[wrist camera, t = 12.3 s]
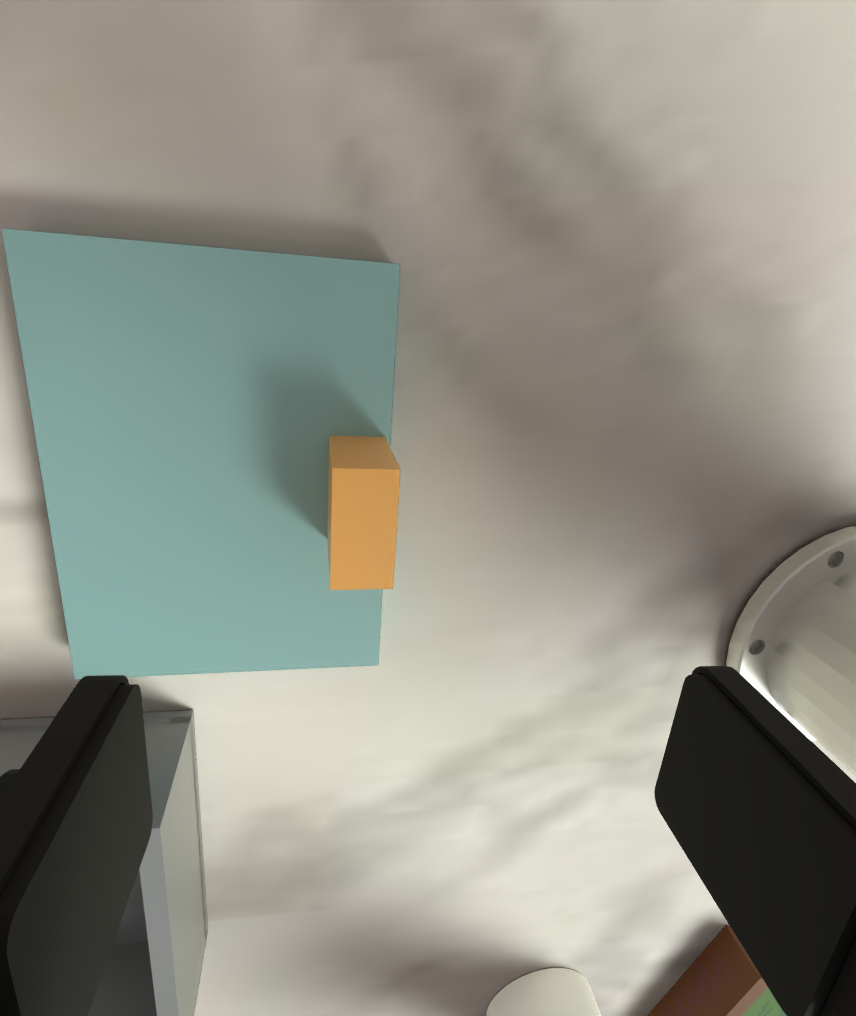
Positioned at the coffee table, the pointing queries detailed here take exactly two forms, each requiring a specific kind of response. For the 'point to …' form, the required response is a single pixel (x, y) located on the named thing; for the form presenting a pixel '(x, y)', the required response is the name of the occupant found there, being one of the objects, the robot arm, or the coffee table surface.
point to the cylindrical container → (546, 995)
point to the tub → (151, 876)
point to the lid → (211, 450)
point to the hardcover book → (720, 985)
